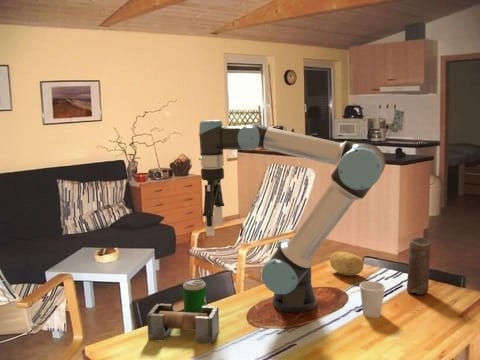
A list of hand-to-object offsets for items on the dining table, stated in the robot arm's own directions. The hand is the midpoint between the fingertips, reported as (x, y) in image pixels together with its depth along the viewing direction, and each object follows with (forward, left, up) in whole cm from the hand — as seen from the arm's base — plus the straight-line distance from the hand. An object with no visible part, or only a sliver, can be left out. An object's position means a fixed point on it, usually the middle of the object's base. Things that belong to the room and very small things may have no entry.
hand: (214, 230), depth 168 cm
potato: (-45, -42, -29) cm, 68 cm away
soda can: (+6, +5, -29) cm, 30 cm away
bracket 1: (+14, +19, -28) cm, 37 cm away
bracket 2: (-1, +19, -28) cm, 34 cm away
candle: (-70, -25, -29) cm, 79 cm away
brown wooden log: (+7, +19, -26) cm, 33 cm away
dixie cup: (-52, -4, -29) cm, 59 cm away
